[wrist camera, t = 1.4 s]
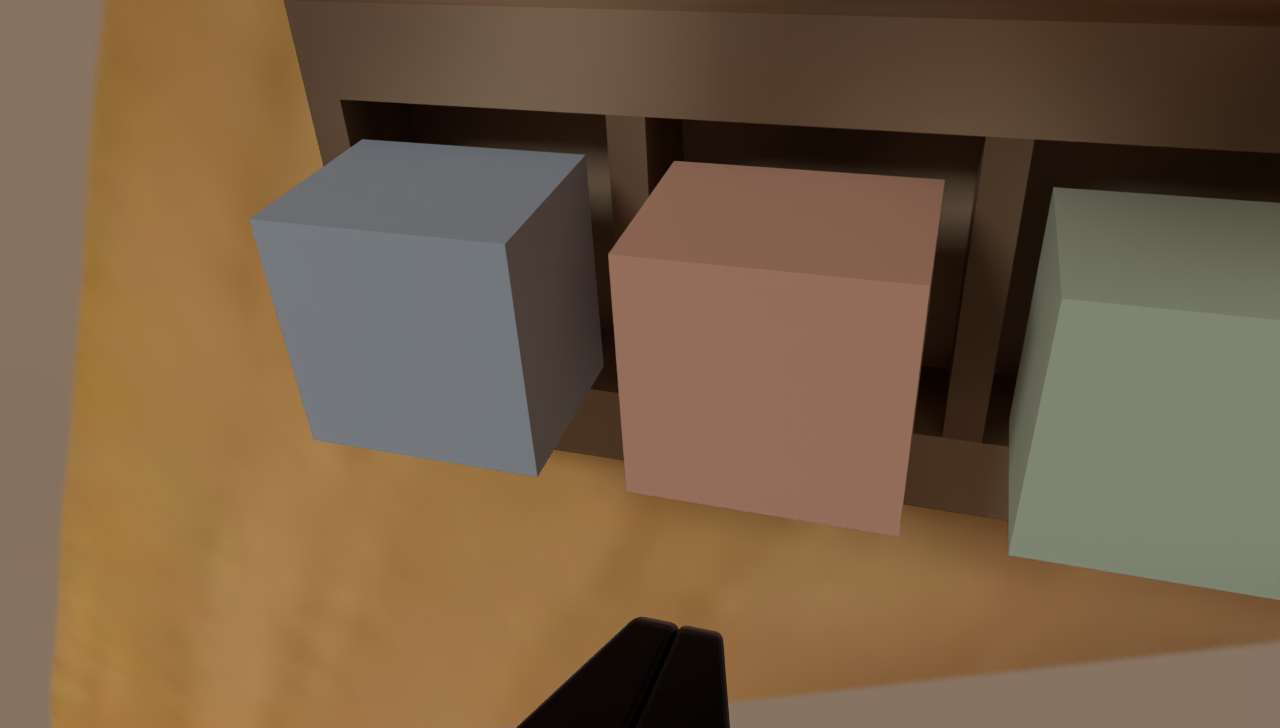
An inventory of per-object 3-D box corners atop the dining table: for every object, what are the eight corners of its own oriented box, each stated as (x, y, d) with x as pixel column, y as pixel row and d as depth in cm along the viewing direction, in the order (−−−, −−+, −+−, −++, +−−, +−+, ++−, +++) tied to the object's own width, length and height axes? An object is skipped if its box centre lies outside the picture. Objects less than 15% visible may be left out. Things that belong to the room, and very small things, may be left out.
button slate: (585, 155, 15) (504, 243, 13) (603, 366, 17) (537, 476, 15) (362, 139, 16) (248, 219, 14) (405, 340, 18) (313, 439, 16)
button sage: (1388, 211, 12) (1480, 339, 10) (1291, 456, 14) (1346, 611, 12) (1053, 187, 13) (1062, 299, 11) (1009, 419, 15) (1008, 555, 13)
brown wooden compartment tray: (1472, -21, 13) (1555, 34, 11) (1281, 466, 17) (1315, 569, 15) (368, -37, 17) (283, 0, 15) (442, 354, 22) (384, 422, 20)
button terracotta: (945, 179, 13) (930, 286, 11) (916, 406, 16) (898, 536, 13) (674, 160, 15) (608, 254, 12) (682, 376, 17) (626, 492, 14)
